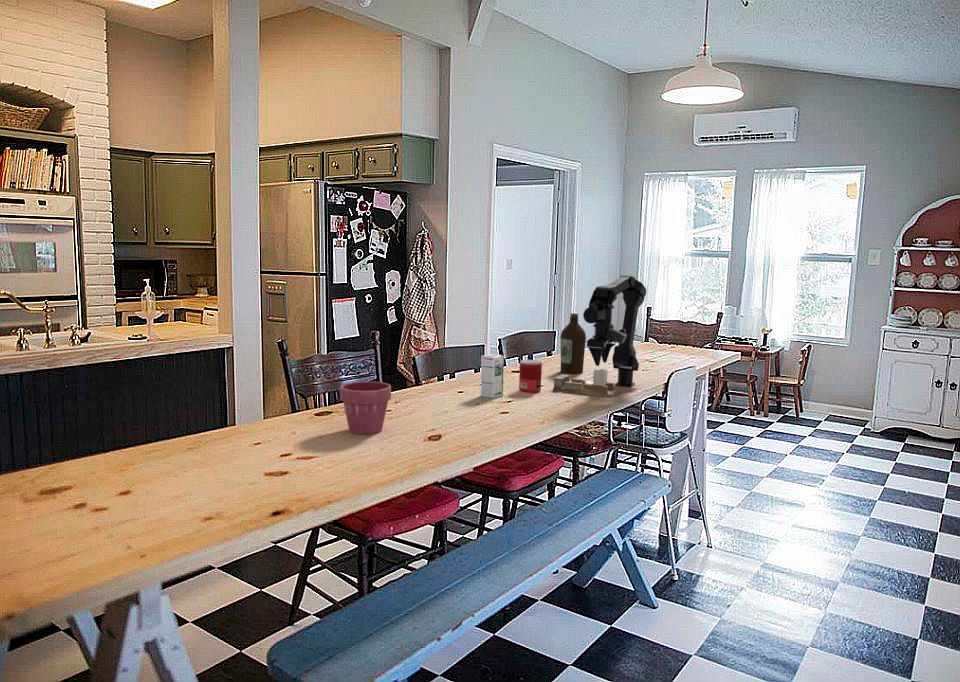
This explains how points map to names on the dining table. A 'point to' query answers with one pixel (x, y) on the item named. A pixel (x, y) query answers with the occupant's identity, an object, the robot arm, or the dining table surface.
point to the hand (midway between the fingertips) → (601, 364)
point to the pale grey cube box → (598, 378)
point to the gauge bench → (583, 387)
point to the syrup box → (492, 375)
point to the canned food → (530, 376)
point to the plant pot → (365, 405)
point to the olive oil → (572, 347)
